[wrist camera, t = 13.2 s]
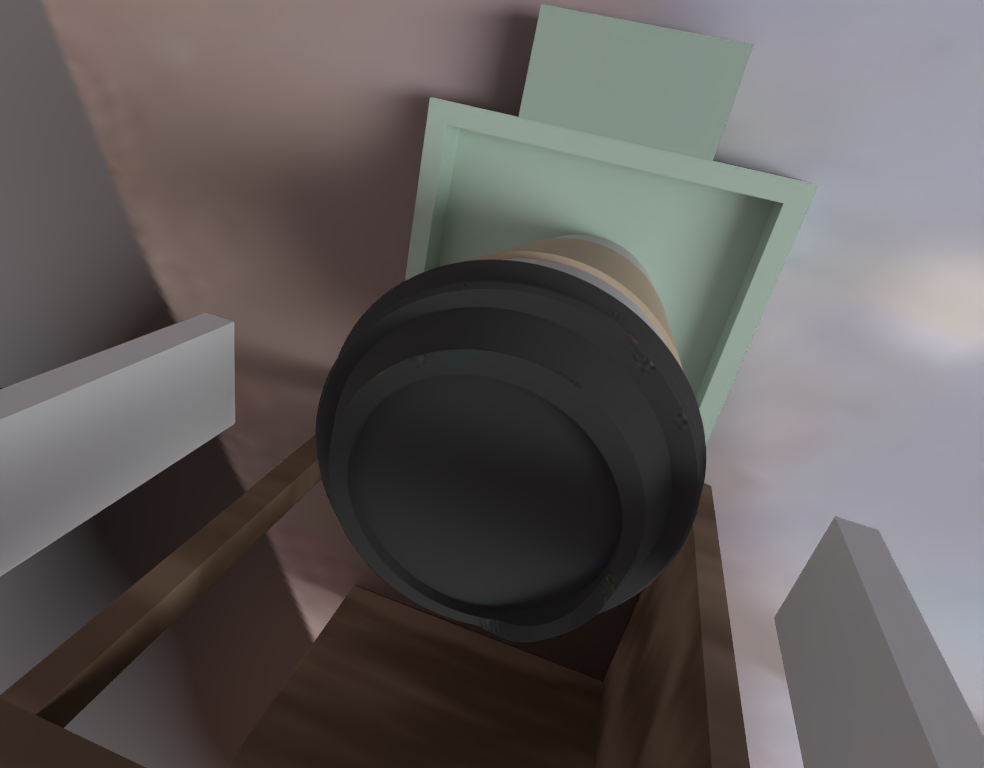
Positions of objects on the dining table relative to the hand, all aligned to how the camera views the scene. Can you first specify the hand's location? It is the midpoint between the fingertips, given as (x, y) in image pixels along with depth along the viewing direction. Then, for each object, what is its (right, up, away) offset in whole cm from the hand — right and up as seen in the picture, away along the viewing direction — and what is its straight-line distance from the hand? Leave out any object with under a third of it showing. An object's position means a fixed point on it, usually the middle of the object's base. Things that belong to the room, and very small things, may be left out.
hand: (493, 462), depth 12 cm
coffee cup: (+4, +5, +12) cm, 14 cm away
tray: (+4, +7, +12) cm, 14 cm away
